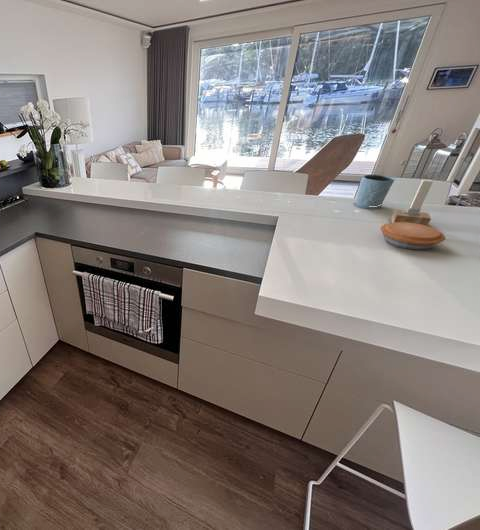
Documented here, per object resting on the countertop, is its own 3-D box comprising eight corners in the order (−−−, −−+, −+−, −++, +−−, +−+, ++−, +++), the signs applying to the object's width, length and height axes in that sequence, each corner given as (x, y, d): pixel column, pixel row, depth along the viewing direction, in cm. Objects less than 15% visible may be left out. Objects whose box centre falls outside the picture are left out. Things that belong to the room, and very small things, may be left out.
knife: (412, 223, 105) (433, 180, 97) (413, 225, 104) (434, 181, 96) (401, 222, 107) (421, 179, 98) (402, 224, 105) (422, 180, 97)
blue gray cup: (352, 200, 129) (361, 173, 123) (381, 202, 124) (392, 174, 118) (354, 208, 122) (364, 179, 116) (385, 210, 117) (397, 181, 111)
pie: (369, 231, 103) (374, 218, 100) (424, 233, 98) (431, 220, 95) (387, 250, 91) (393, 236, 88) (451, 255, 86) (460, 240, 83)
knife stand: (423, 223, 105) (428, 212, 103) (426, 229, 101) (431, 218, 99) (390, 219, 109) (395, 209, 107) (392, 225, 105) (396, 215, 103)
